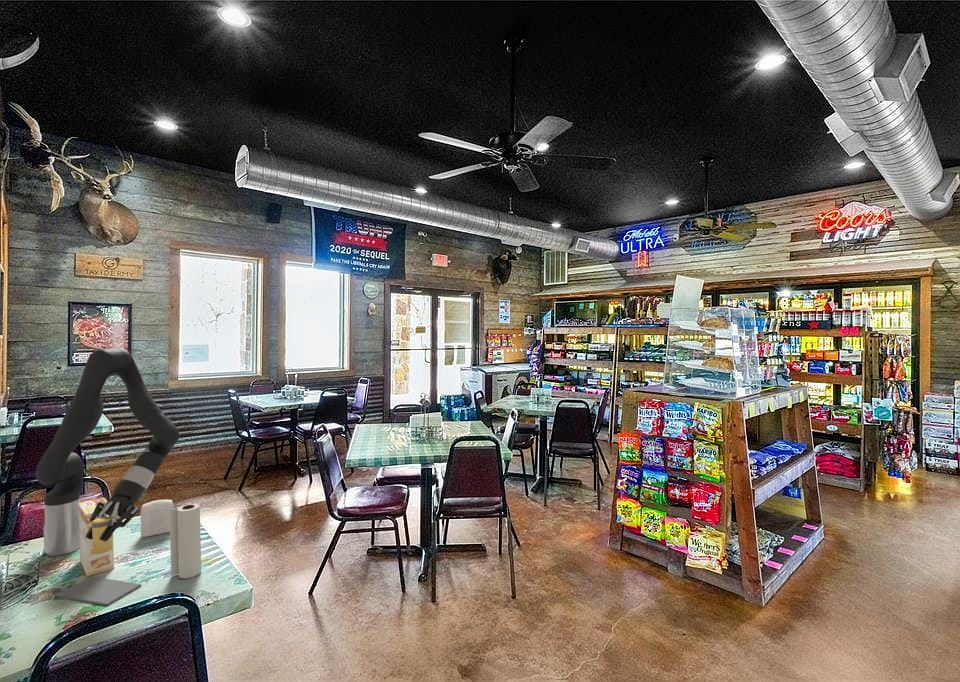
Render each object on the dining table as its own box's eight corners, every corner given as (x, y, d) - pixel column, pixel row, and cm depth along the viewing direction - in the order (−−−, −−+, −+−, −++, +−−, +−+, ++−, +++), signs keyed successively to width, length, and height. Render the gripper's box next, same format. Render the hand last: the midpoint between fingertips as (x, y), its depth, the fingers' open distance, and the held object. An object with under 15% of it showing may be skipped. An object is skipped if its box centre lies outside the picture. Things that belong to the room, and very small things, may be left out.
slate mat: (55, 596, 134) (54, 594, 134) (91, 578, 144) (91, 576, 144) (107, 605, 129) (107, 603, 129) (141, 586, 139) (141, 584, 139)
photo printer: (174, 527, 179) (173, 496, 179) (174, 532, 176) (173, 499, 175) (141, 534, 174) (140, 501, 173) (140, 539, 170) (139, 505, 170)
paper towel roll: (205, 570, 148) (204, 504, 147) (188, 580, 142) (186, 511, 141) (188, 567, 150) (187, 501, 149) (171, 576, 144) (169, 508, 144)
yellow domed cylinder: (88, 552, 135) (87, 522, 135) (104, 545, 140) (103, 515, 139) (101, 554, 134) (100, 523, 134) (116, 547, 139) (116, 517, 138)
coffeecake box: (115, 568, 149) (113, 508, 149) (86, 577, 144) (84, 514, 144) (106, 552, 160) (104, 496, 159) (79, 560, 154) (77, 502, 154)
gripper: (107, 476, 145) (66, 532, 134) (144, 480, 142) (106, 537, 131) (124, 487, 150) (86, 541, 139) (160, 491, 147) (124, 546, 136)
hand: (95, 539), depth 135 cm, fingers closed on yellow domed cylinder, 4 cm apart
